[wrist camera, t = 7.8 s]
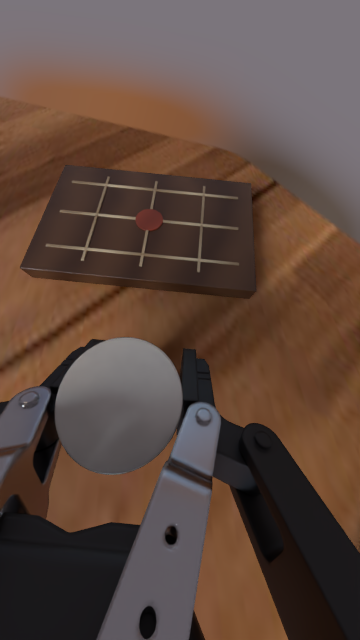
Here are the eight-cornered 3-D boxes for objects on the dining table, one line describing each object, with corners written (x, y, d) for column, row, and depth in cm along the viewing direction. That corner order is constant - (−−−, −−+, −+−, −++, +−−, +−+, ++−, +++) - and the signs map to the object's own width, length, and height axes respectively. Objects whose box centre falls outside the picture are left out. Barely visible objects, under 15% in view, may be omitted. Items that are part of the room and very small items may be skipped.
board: (32, 277, 17) (17, 266, 15) (72, 179, 21) (64, 163, 19) (249, 299, 17) (257, 290, 15) (246, 196, 21) (251, 181, 19)
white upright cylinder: (114, 418, 13) (33, 469, 6) (125, 357, 15) (74, 331, 7) (174, 424, 13) (176, 482, 6) (180, 362, 15) (187, 342, 7)
